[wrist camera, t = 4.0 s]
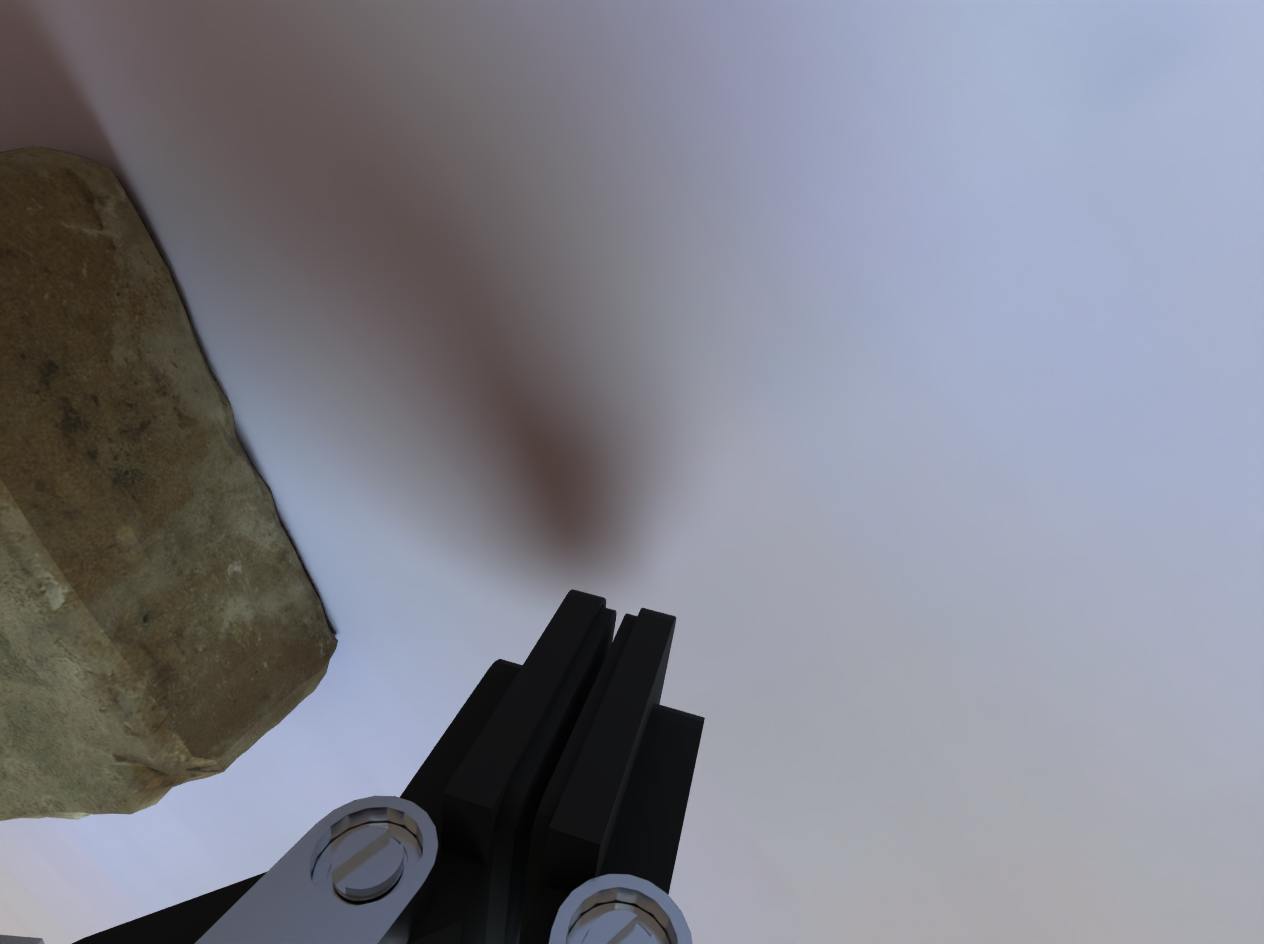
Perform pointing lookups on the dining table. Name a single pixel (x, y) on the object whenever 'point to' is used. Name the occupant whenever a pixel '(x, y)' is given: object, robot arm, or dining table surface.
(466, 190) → the dining table surface
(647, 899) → the robot arm
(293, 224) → the dining table surface
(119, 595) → the stone block
